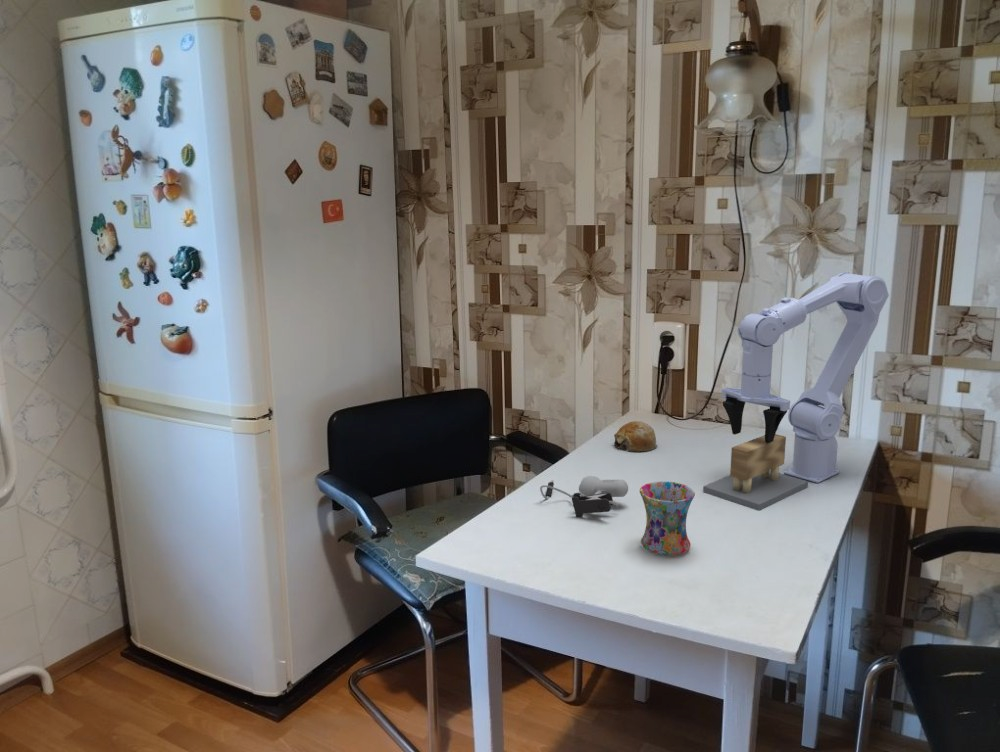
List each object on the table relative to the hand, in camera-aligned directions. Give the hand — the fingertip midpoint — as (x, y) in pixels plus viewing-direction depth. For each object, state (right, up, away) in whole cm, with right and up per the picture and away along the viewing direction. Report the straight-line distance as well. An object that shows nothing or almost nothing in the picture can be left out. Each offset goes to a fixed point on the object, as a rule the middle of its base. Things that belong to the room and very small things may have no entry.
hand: (752, 437), depth 165 cm
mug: (-23, -17, -24) cm, 38 cm away
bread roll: (-20, -5, +28) cm, 35 cm away
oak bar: (+1, -7, -1) cm, 7 cm away
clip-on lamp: (-36, -13, -6) cm, 39 cm away
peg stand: (+1, -11, 0) cm, 11 cm away
